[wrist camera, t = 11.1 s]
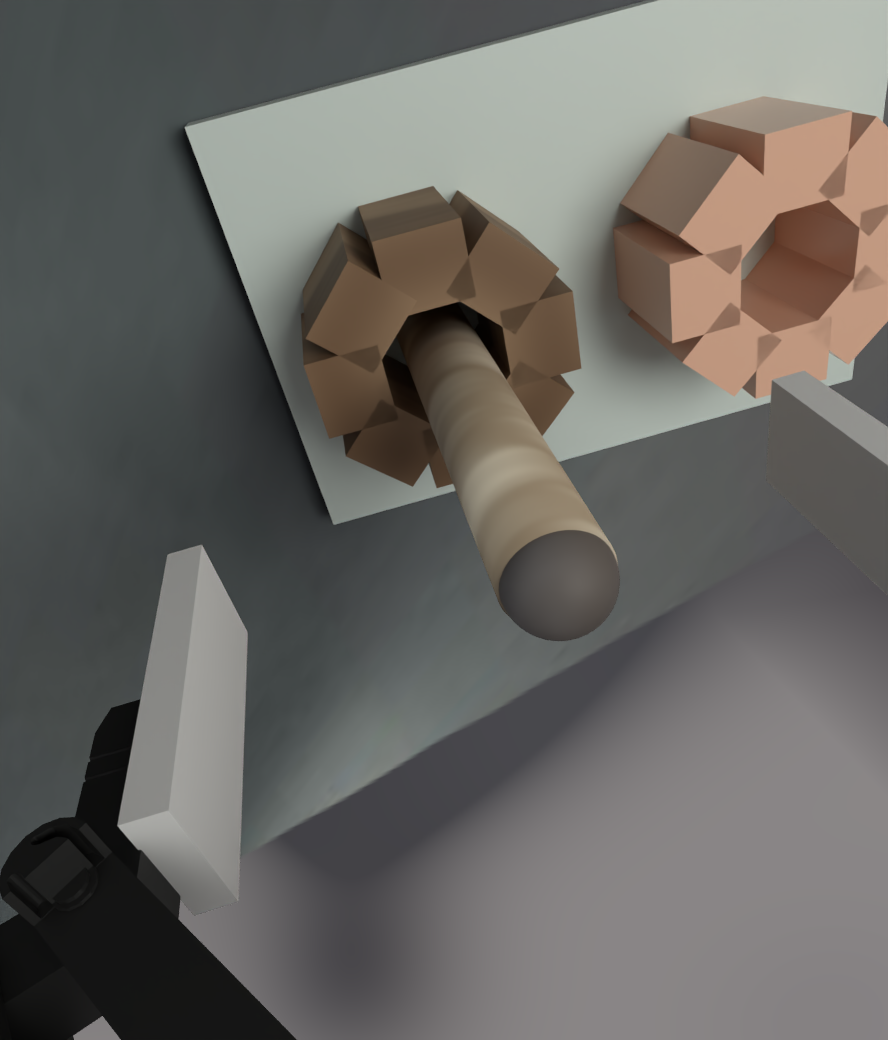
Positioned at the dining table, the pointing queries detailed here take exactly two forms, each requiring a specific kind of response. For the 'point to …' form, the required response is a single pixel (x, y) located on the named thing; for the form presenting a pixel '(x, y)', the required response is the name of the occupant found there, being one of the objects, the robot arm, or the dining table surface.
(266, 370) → the dining table surface
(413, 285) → the walnut bead
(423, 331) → the wooden dowel rod
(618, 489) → the dining table surface
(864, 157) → the terracotta bead
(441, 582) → the dining table surface
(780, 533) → the dining table surface
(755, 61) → the board
